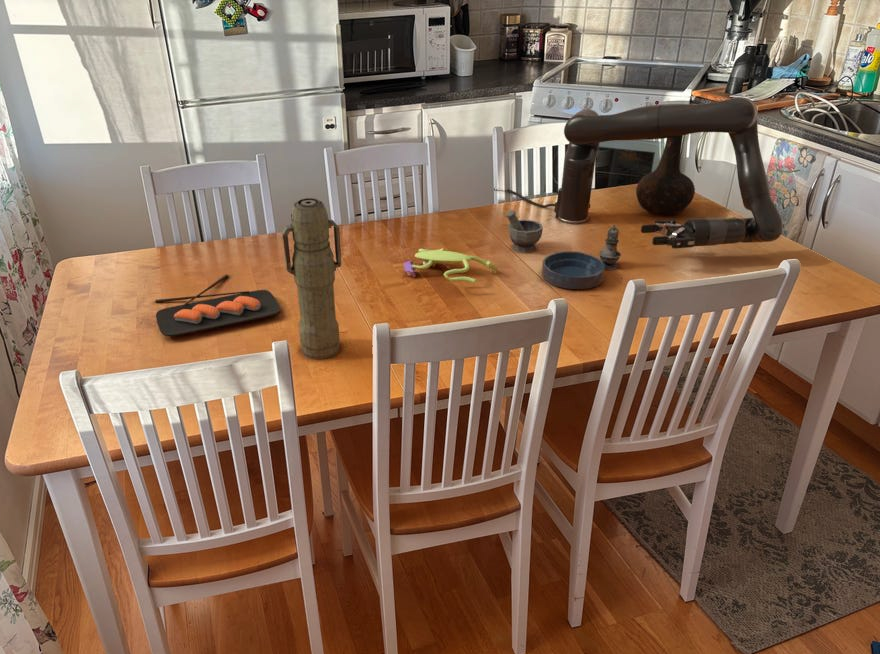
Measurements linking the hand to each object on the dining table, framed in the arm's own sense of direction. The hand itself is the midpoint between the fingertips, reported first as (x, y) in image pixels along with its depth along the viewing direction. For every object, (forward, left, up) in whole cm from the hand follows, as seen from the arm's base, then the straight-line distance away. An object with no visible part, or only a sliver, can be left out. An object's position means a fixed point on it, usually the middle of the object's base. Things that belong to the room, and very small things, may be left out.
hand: (647, 234), depth 198 cm
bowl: (-11, -20, -9) cm, 24 cm away
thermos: (-37, -89, -9) cm, 97 cm away
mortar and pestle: (-32, -12, -9) cm, 35 cm away
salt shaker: (-7, -7, -9) cm, 13 cm away
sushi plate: (-74, -91, -9) cm, 117 cm away
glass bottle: (-13, +42, -9) cm, 45 cm away
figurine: (-38, -39, -9) cm, 55 cm away
